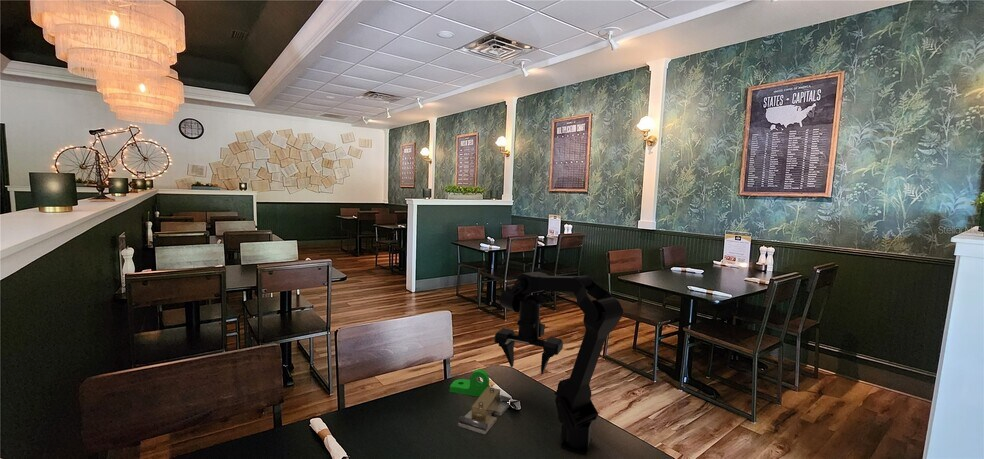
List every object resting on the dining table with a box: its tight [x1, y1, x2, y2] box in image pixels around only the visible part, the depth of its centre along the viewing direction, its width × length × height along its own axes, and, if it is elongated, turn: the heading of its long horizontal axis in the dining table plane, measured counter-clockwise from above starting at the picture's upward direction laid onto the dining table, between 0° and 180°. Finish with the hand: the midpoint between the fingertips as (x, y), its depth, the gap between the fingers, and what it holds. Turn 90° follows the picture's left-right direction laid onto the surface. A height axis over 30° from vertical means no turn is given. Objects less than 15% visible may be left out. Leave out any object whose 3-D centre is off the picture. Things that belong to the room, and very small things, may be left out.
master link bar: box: [471, 387, 501, 423], centre depth 115 cm, size 4×12×5 cm, turn 160°
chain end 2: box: [492, 394, 512, 416], centre depth 120 cm, size 8×7×2 cm
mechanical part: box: [449, 368, 490, 398], centre depth 129 cm, size 12×6×8 cm, turn 75°
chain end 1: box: [457, 409, 498, 435], centre depth 111 cm, size 8×7×2 cm
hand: (527, 370), depth 117 cm, fingers open, 9 cm apart
